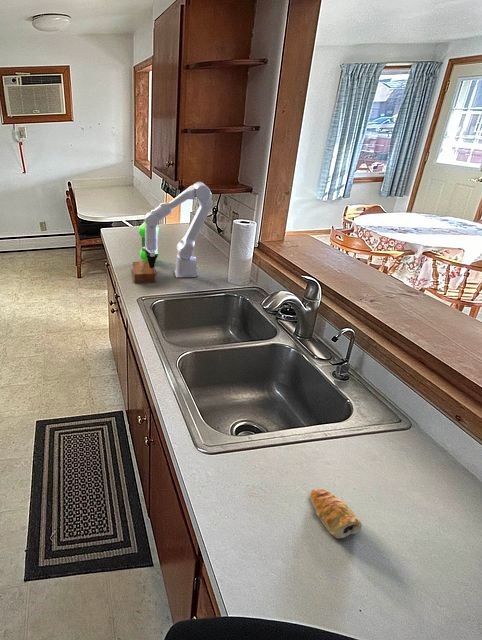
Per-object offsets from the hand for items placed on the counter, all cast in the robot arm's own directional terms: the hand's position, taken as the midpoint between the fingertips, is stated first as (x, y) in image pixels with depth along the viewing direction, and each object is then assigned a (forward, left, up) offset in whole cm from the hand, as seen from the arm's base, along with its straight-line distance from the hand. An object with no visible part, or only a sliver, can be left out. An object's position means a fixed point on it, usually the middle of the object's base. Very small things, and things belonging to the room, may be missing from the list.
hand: (151, 265), depth 188 cm
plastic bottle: (-1, -20, -6) cm, 21 cm away
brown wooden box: (+4, 0, -5) cm, 7 cm away
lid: (+3, 0, -2) cm, 4 cm away
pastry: (-25, +123, -6) cm, 126 cm away
